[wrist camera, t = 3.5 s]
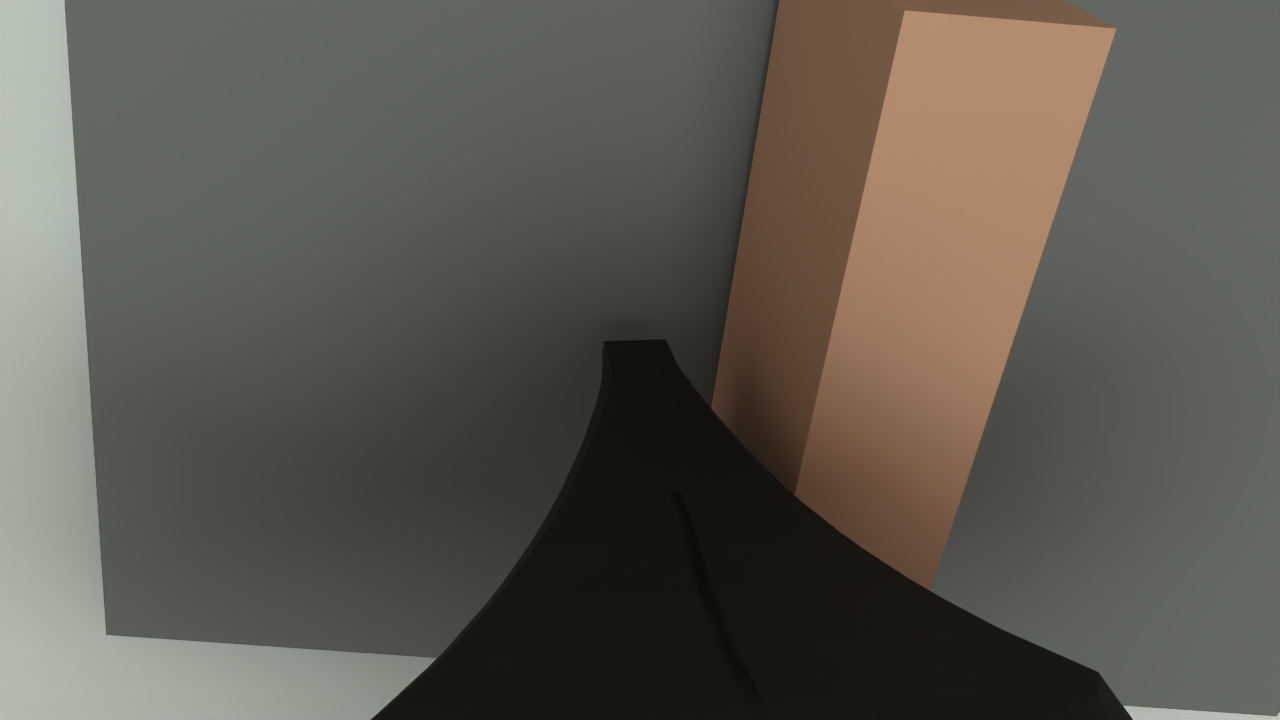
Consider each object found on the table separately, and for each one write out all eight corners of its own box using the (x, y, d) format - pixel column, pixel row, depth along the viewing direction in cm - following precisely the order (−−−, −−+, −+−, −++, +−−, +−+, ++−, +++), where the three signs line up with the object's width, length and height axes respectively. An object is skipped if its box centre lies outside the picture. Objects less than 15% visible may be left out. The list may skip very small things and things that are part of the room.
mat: (1265, 702, 19) (1276, 716, 19) (112, 619, 15) (106, 634, 15) (2052, -378, 11) (2090, -380, 11) (9, -1090, 7) (-9, -1118, 7)
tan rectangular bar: (763, -84, 10) (863, 7, 7) (975, -64, 11) (1155, 32, 8) (650, 646, 16) (682, 875, 13) (796, 647, 16) (861, 870, 13)
